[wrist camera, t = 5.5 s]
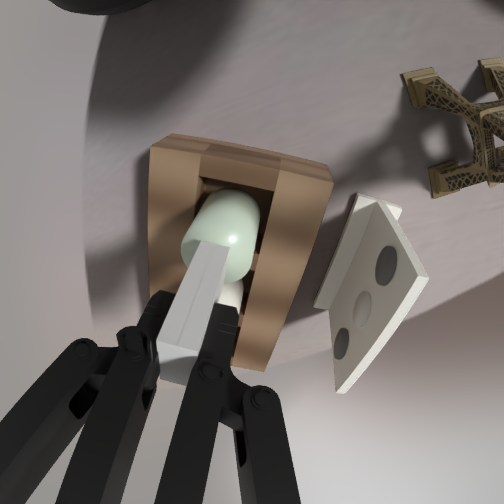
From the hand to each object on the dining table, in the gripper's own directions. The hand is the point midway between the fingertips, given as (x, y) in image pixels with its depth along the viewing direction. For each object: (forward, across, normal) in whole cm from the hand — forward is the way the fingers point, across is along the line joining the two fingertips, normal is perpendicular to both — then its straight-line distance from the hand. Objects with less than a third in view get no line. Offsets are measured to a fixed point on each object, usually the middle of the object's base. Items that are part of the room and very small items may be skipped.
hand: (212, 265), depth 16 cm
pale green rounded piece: (+6, 0, 0) cm, 6 cm away
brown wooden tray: (+9, 0, -6) cm, 11 cm away
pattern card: (+9, +11, -3) cm, 15 cm away
